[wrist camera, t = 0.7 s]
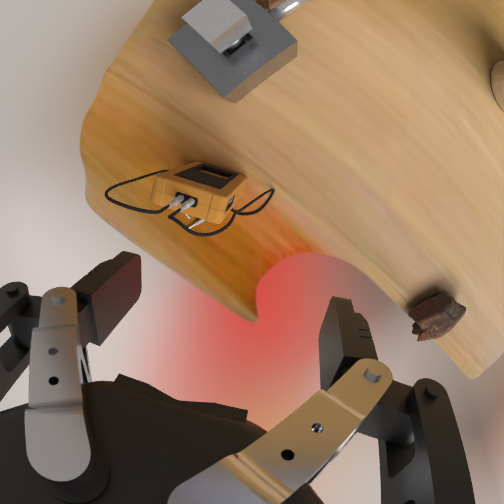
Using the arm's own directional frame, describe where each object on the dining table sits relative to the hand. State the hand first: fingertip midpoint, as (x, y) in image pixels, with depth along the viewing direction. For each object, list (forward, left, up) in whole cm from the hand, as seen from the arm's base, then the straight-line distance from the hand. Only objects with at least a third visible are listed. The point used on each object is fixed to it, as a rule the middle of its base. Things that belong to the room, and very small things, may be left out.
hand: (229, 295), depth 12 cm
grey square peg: (-8, -16, -26) cm, 32 cm away
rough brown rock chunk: (-8, +31, -29) cm, 43 cm away
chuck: (-11, -16, -28) cm, 34 cm away
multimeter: (+8, -3, -29) cm, 30 cm away
